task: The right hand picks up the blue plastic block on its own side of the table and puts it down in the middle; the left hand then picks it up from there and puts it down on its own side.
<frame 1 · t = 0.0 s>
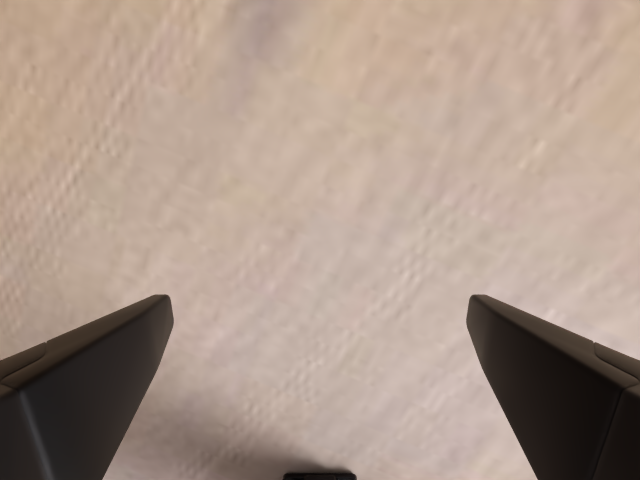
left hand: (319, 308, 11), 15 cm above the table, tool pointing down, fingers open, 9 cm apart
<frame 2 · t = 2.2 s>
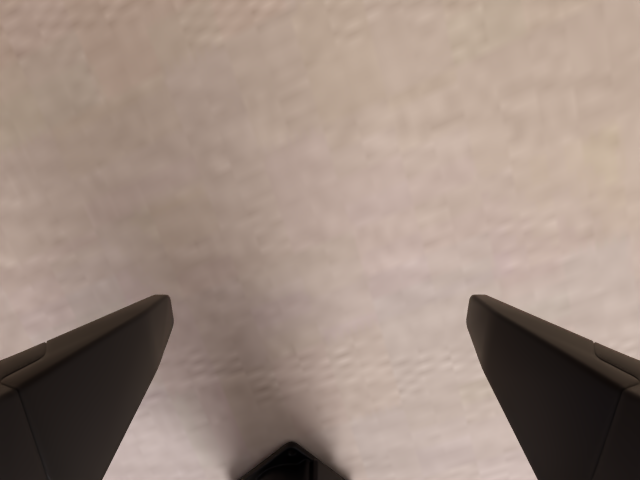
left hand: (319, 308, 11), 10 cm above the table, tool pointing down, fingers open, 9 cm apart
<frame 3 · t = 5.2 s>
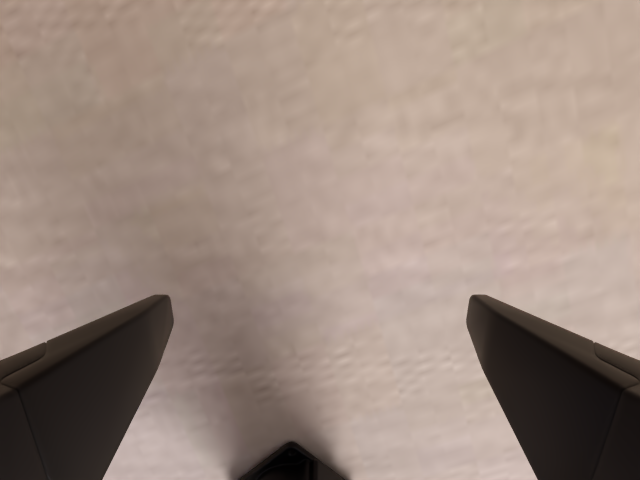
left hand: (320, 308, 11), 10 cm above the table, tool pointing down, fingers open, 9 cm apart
when the right hand's fingers open (2 cm above the table, at t = 8.0 s): block stays where it is, on the table.
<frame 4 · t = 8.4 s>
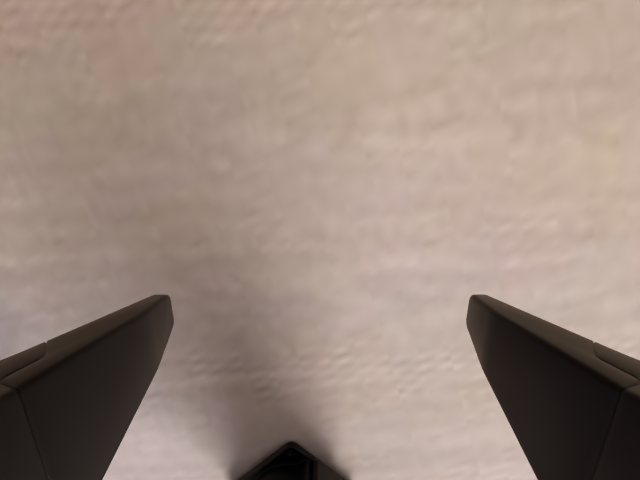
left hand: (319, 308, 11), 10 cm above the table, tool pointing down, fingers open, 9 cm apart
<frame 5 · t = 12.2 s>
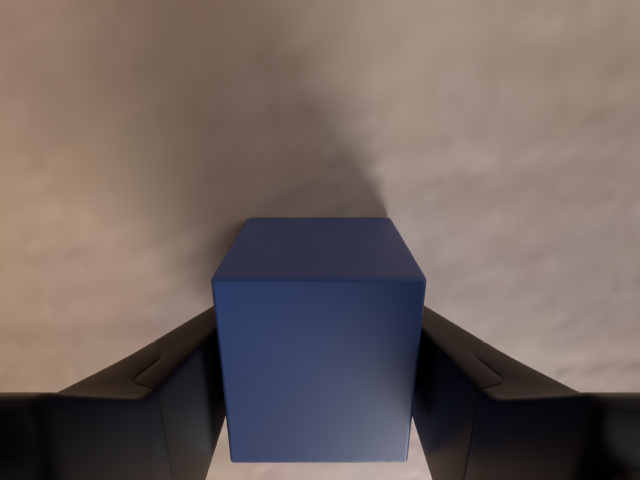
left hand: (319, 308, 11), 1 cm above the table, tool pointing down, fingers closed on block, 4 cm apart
block: (319, 291, 12), on the table, touching left hand
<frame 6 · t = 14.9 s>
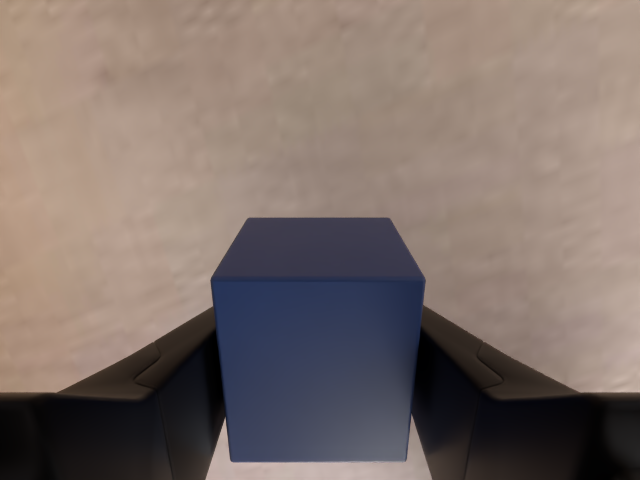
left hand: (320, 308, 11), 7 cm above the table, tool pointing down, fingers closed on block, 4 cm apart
block: (318, 290, 12), point 6 cm above the table, touching left hand
when the left hand's fingers open (2 cm above the table, at t = 17.5 s): block stays where it is, on the table.
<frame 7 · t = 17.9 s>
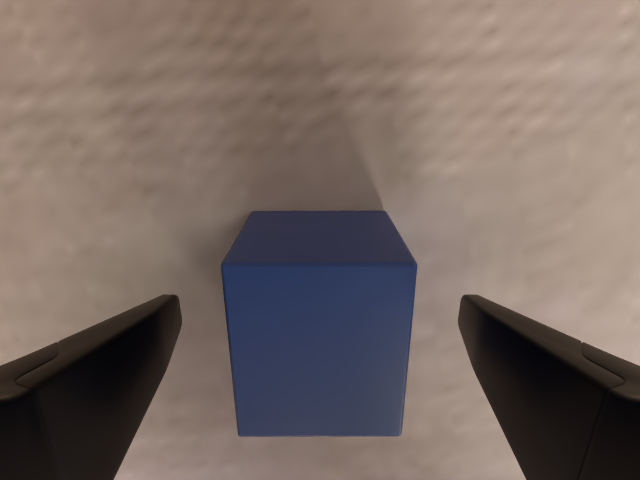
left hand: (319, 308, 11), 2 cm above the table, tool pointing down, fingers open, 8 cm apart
block: (319, 280, 13), on the table
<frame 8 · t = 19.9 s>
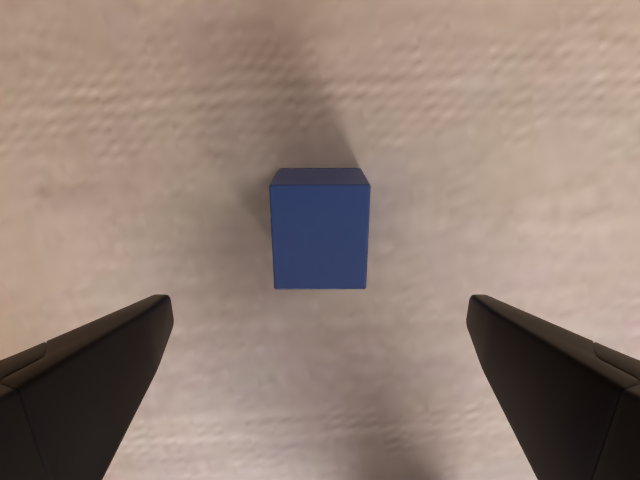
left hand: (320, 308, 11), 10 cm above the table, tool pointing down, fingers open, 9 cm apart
block: (320, 213, 21), on the table
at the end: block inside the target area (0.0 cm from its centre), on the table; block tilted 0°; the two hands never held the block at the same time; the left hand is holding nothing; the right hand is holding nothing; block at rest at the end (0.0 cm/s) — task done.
